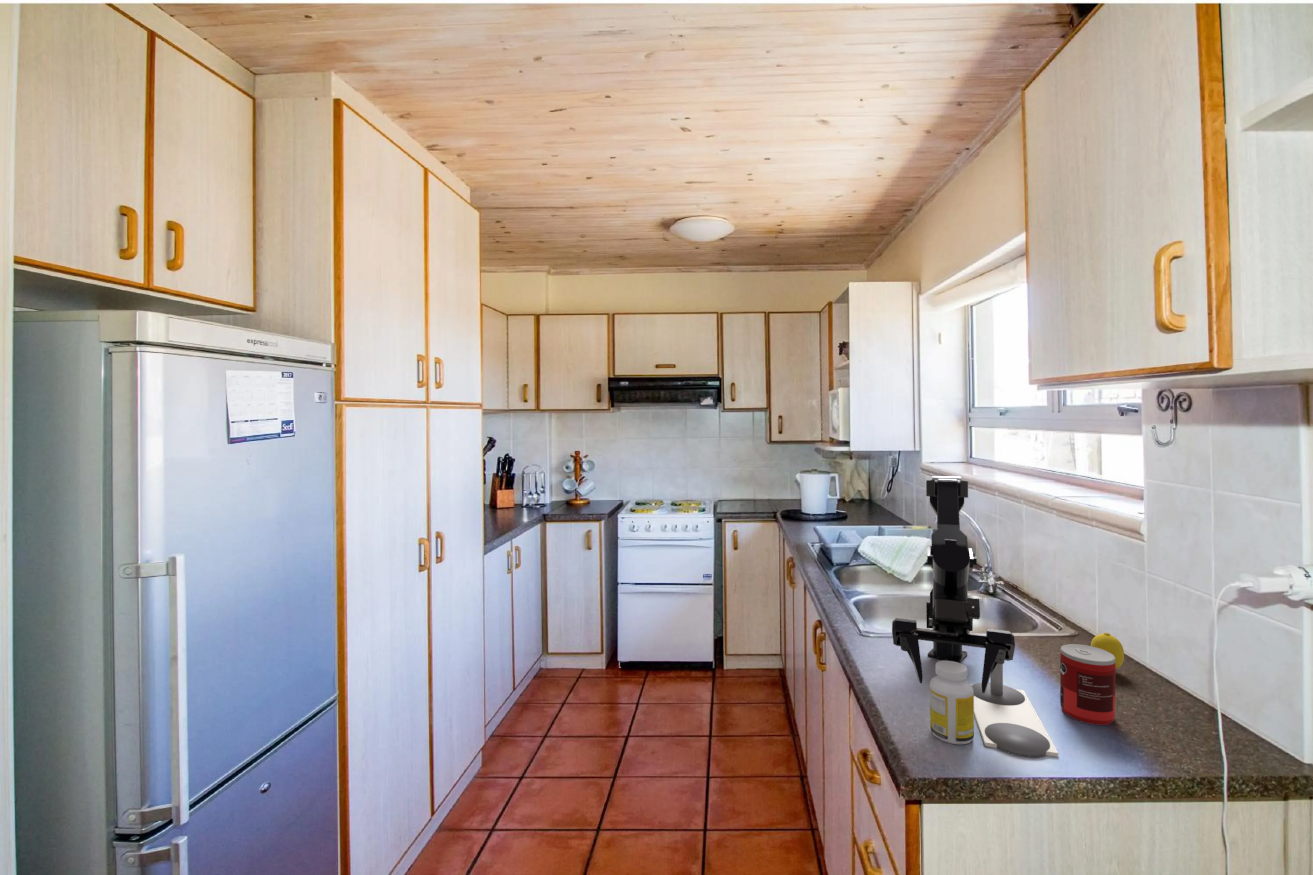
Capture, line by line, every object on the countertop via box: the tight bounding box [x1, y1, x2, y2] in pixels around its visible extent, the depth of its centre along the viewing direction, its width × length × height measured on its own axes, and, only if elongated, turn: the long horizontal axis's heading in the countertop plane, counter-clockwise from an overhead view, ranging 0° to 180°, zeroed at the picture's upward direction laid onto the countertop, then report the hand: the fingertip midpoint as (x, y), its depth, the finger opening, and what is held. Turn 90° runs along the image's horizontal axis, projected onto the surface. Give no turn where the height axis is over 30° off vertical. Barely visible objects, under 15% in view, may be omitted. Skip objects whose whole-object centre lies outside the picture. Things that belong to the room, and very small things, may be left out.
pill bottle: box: [929, 660, 975, 745], centre depth 98 cm, size 6×6×12 cm
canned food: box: [1059, 643, 1117, 726], centre depth 104 cm, size 8×8×11 cm
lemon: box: [1089, 632, 1125, 670], centre depth 121 cm, size 6×6×8 cm
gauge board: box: [970, 664, 1059, 758], centre depth 104 cm, size 25×10×7 cm, turn 160°
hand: (951, 687), depth 98 cm, fingers open, 9 cm apart
